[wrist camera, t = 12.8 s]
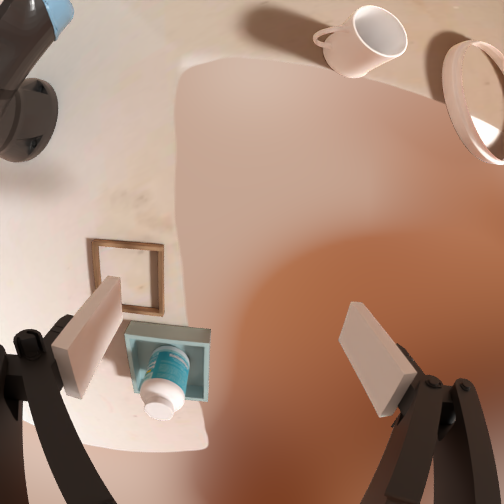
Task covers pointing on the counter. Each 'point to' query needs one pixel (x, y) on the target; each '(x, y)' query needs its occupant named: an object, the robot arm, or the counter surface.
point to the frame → (133, 245)
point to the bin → (185, 338)
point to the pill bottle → (165, 382)
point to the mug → (363, 41)
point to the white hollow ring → (467, 127)
